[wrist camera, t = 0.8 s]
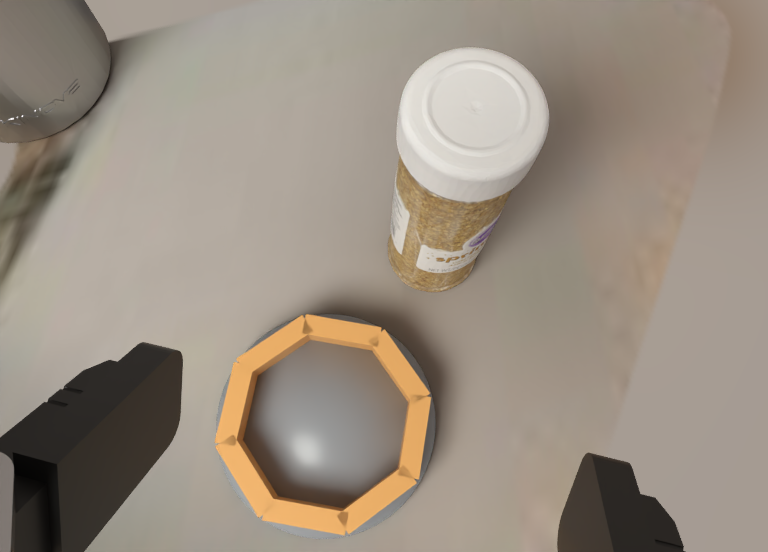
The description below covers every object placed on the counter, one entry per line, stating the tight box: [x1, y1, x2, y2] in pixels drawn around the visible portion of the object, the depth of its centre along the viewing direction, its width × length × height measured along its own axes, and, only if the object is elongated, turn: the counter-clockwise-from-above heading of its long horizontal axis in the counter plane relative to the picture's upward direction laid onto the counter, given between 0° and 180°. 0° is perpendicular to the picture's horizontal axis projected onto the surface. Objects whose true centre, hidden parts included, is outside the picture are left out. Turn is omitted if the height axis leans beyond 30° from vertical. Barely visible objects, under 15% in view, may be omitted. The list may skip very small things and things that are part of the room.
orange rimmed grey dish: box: [215, 314, 436, 539], centre depth 27 cm, size 10×10×2 cm
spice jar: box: [388, 47, 549, 292], centre depth 24 cm, size 5×5×13 cm
